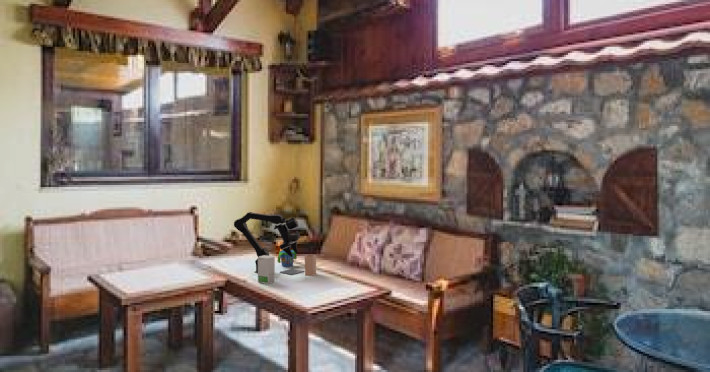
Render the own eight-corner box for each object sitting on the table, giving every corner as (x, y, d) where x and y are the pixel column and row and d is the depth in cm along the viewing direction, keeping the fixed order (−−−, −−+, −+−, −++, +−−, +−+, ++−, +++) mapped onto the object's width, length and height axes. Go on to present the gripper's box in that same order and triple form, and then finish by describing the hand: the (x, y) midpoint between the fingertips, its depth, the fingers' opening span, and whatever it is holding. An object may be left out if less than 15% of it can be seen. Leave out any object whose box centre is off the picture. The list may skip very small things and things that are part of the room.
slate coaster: (291, 275, 331) (291, 274, 331) (279, 272, 338) (279, 271, 338) (304, 271, 339) (304, 270, 339) (292, 269, 346) (292, 268, 346)
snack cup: (292, 262, 366) (291, 248, 365) (301, 265, 359) (301, 250, 358) (273, 266, 355) (273, 251, 355) (282, 269, 348) (282, 254, 347)
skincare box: (257, 282, 314) (256, 256, 313) (264, 280, 320) (263, 254, 319) (269, 284, 310) (268, 258, 309) (275, 281, 316) (274, 255, 315)
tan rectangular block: (305, 275, 330) (304, 256, 329) (308, 273, 335) (307, 254, 334) (313, 275, 329) (312, 256, 328) (316, 273, 334) (315, 255, 333)
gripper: (289, 231, 326) (300, 253, 326) (299, 225, 344) (310, 246, 344) (274, 237, 329) (285, 260, 329) (285, 231, 347) (295, 253, 347)
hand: (294, 254), depth 337 cm, fingers open, 9 cm apart
